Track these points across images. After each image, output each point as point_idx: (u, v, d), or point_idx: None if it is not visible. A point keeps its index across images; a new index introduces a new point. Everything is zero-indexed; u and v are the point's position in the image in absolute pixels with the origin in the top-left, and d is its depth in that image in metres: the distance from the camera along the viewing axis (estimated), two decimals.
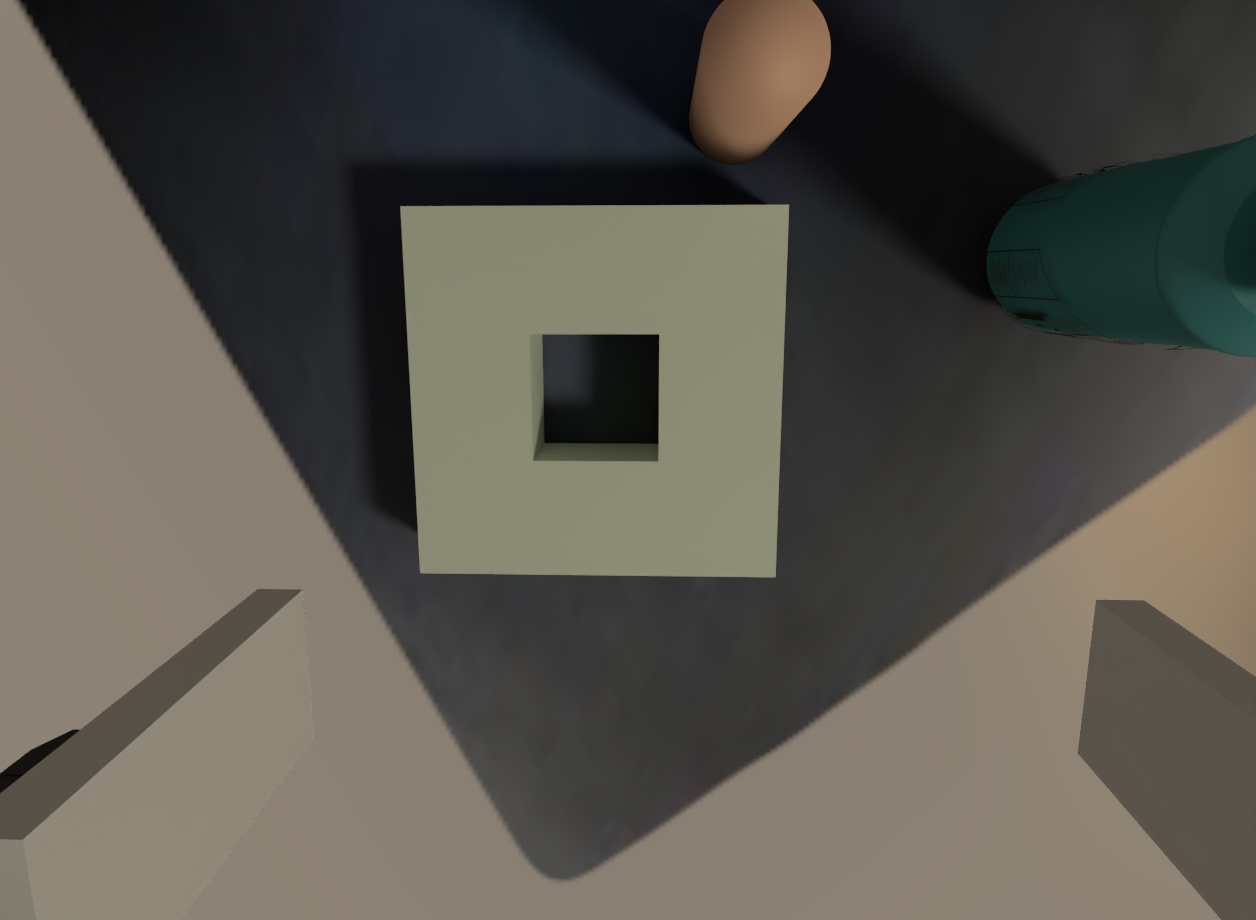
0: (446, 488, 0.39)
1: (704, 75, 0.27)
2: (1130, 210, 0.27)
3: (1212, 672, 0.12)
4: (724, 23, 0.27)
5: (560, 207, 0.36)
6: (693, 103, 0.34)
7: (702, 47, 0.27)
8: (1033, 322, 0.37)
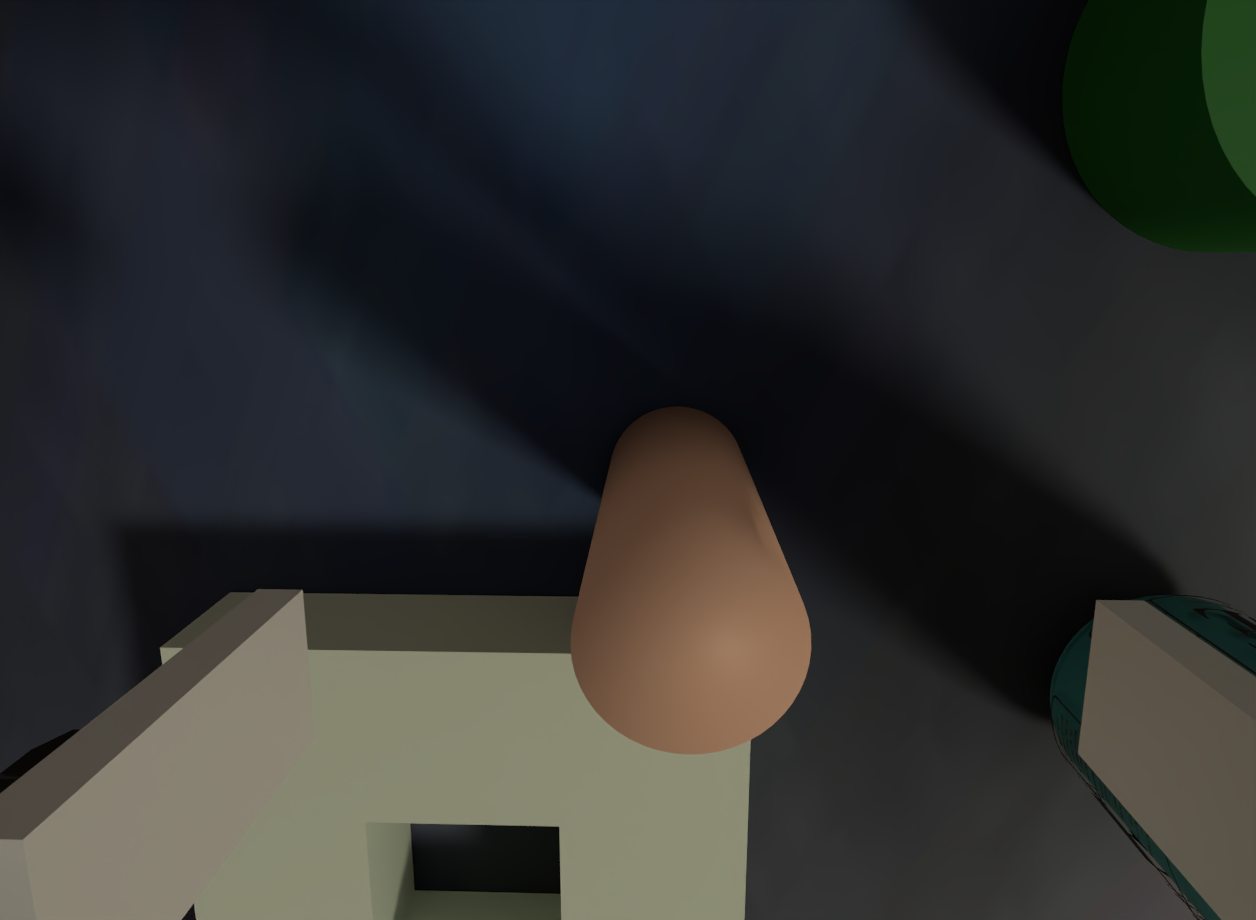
0: None
1: (578, 677, 0.15)
2: None
3: (1212, 672, 0.12)
4: (612, 597, 0.14)
5: (403, 653, 0.24)
6: None
7: (572, 636, 0.15)
8: None
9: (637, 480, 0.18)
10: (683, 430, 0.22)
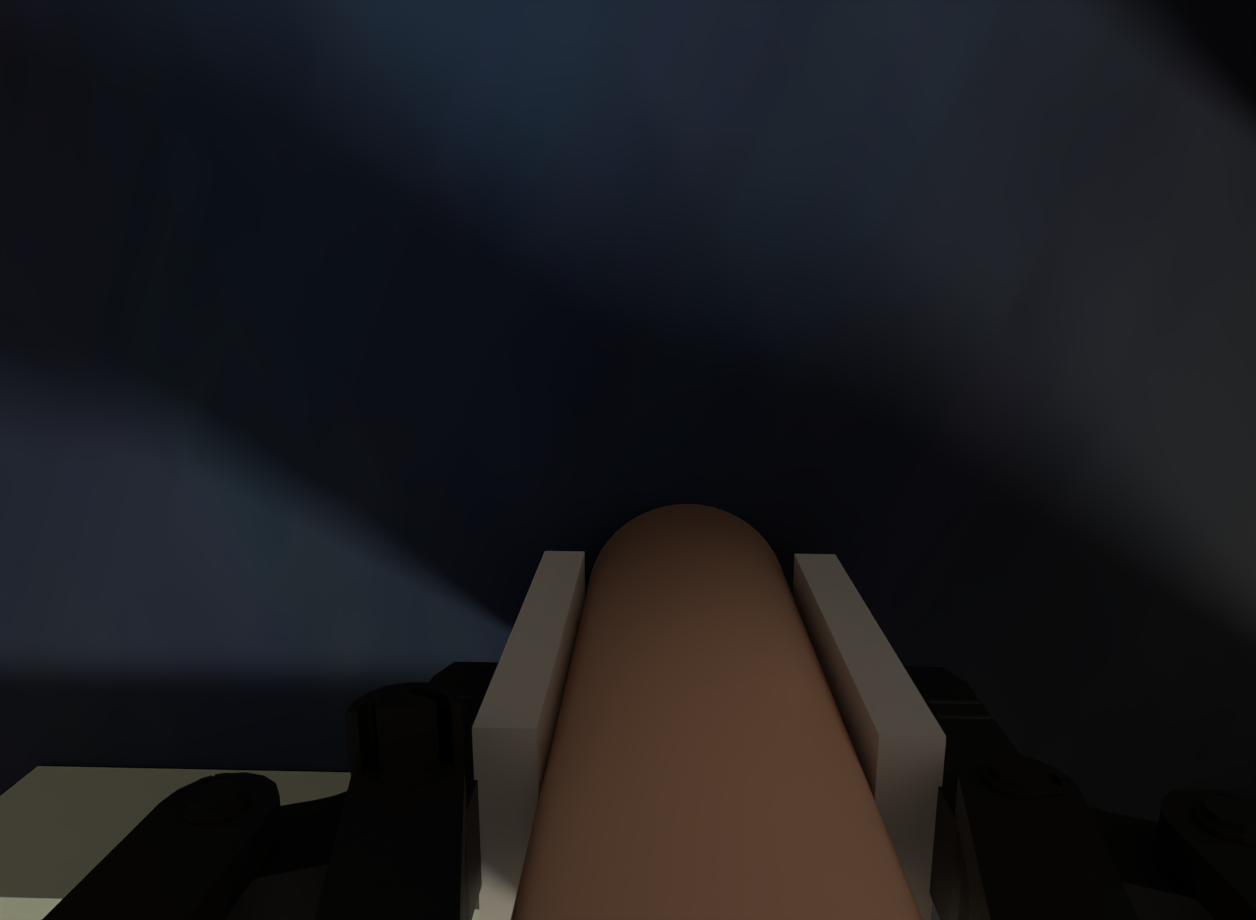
0: None
1: None
2: None
3: (836, 605, 0.14)
4: None
5: None
6: None
7: None
8: None
9: (619, 705, 0.10)
10: (699, 564, 0.14)
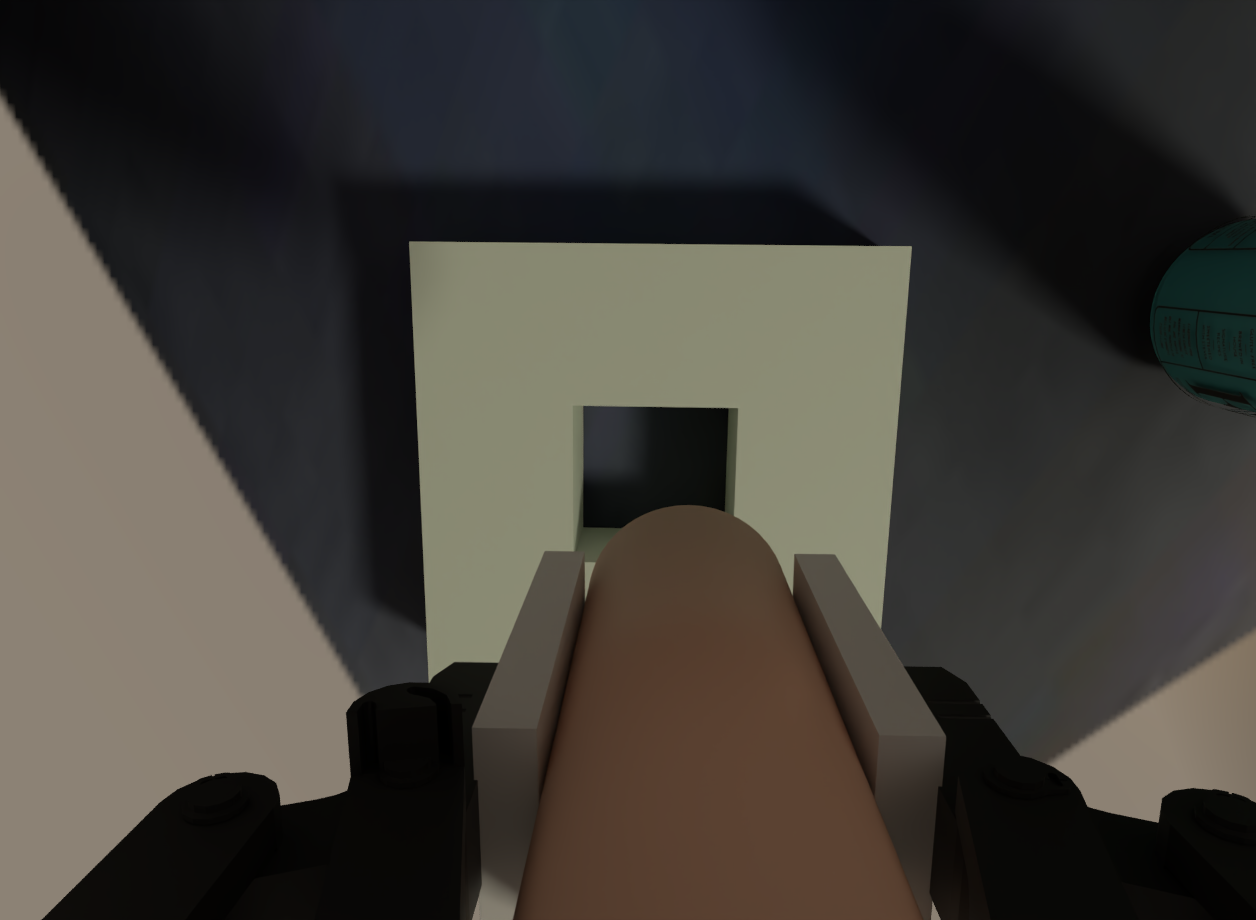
0: (463, 594, 0.31)
1: None
2: None
3: (836, 605, 0.14)
4: None
5: (615, 245, 0.28)
6: None
7: None
8: (1216, 398, 0.29)
9: (620, 707, 0.10)
10: (700, 565, 0.14)
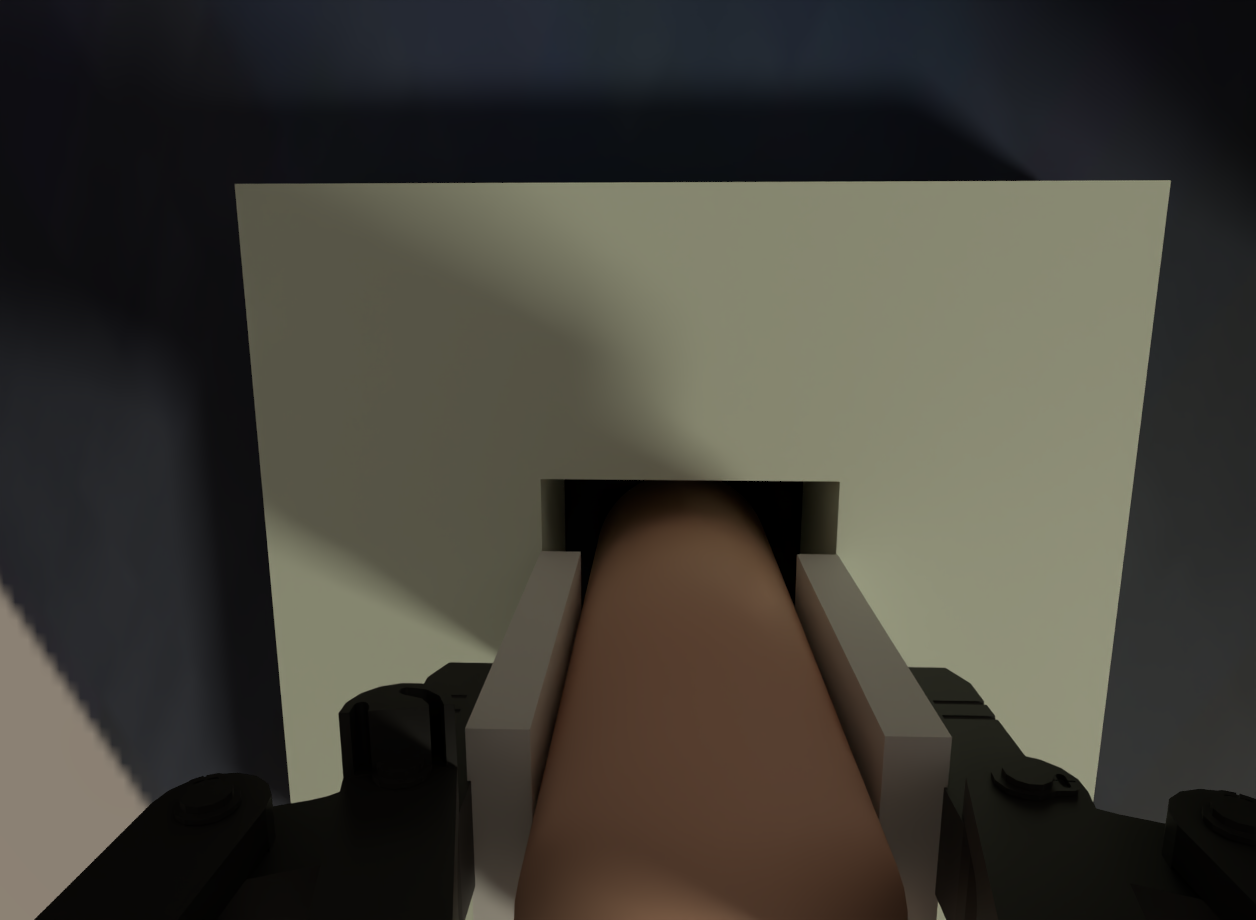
0: None
1: None
2: None
3: (839, 606, 0.14)
4: (581, 852, 0.09)
5: (615, 187, 0.15)
6: None
7: (517, 910, 0.09)
8: None
9: (627, 608, 0.13)
10: (691, 515, 0.17)
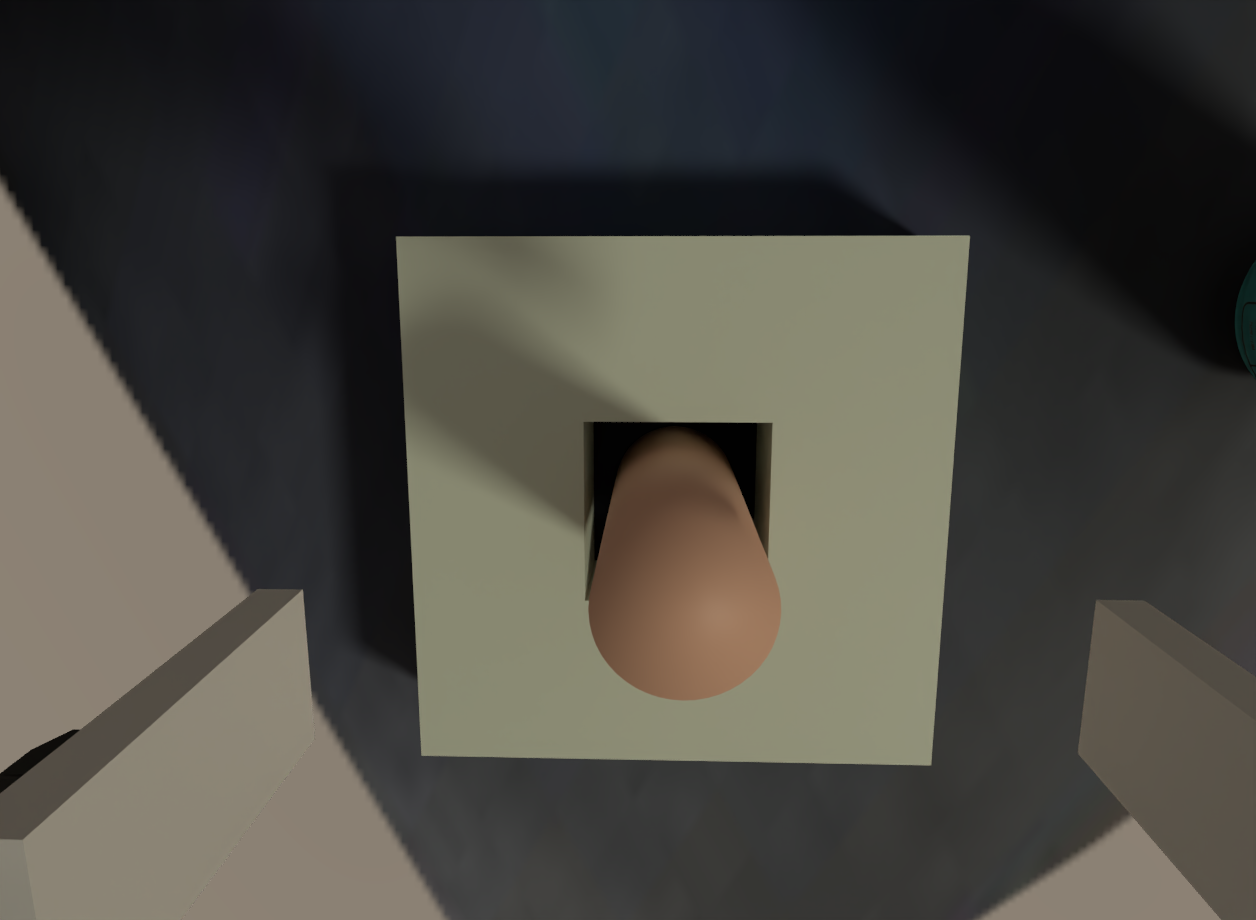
0: (459, 638, 0.27)
1: (594, 636, 0.18)
2: None
3: (1212, 672, 0.12)
4: (621, 571, 0.18)
5: (631, 239, 0.25)
6: None
7: (590, 602, 0.18)
8: None
9: (641, 483, 0.22)
10: (680, 445, 0.26)
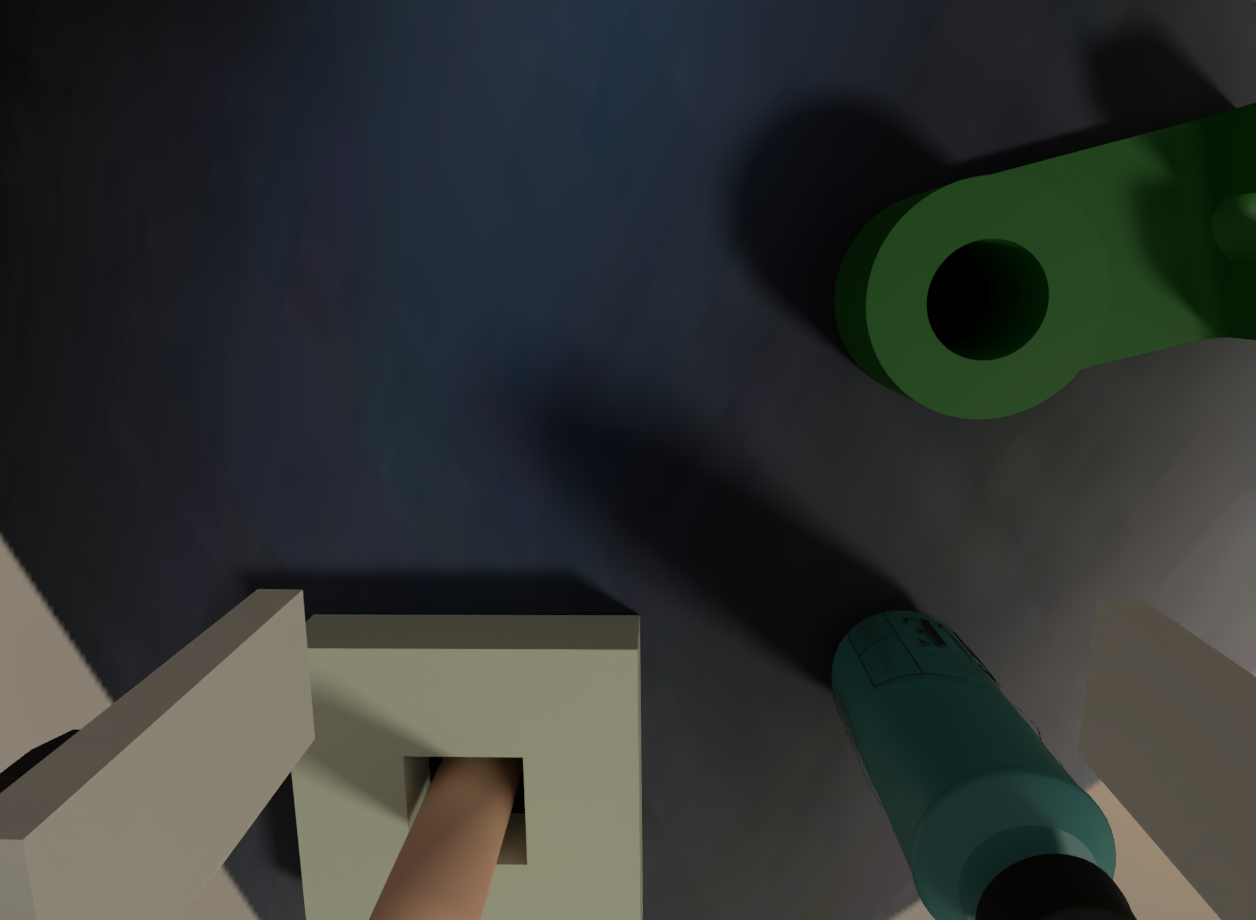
0: (331, 885, 0.42)
1: None
2: (903, 780, 0.30)
3: (1212, 672, 0.12)
4: (383, 918, 0.33)
5: (426, 650, 0.39)
6: None
7: None
8: None
9: (421, 826, 0.37)
10: (467, 767, 0.40)
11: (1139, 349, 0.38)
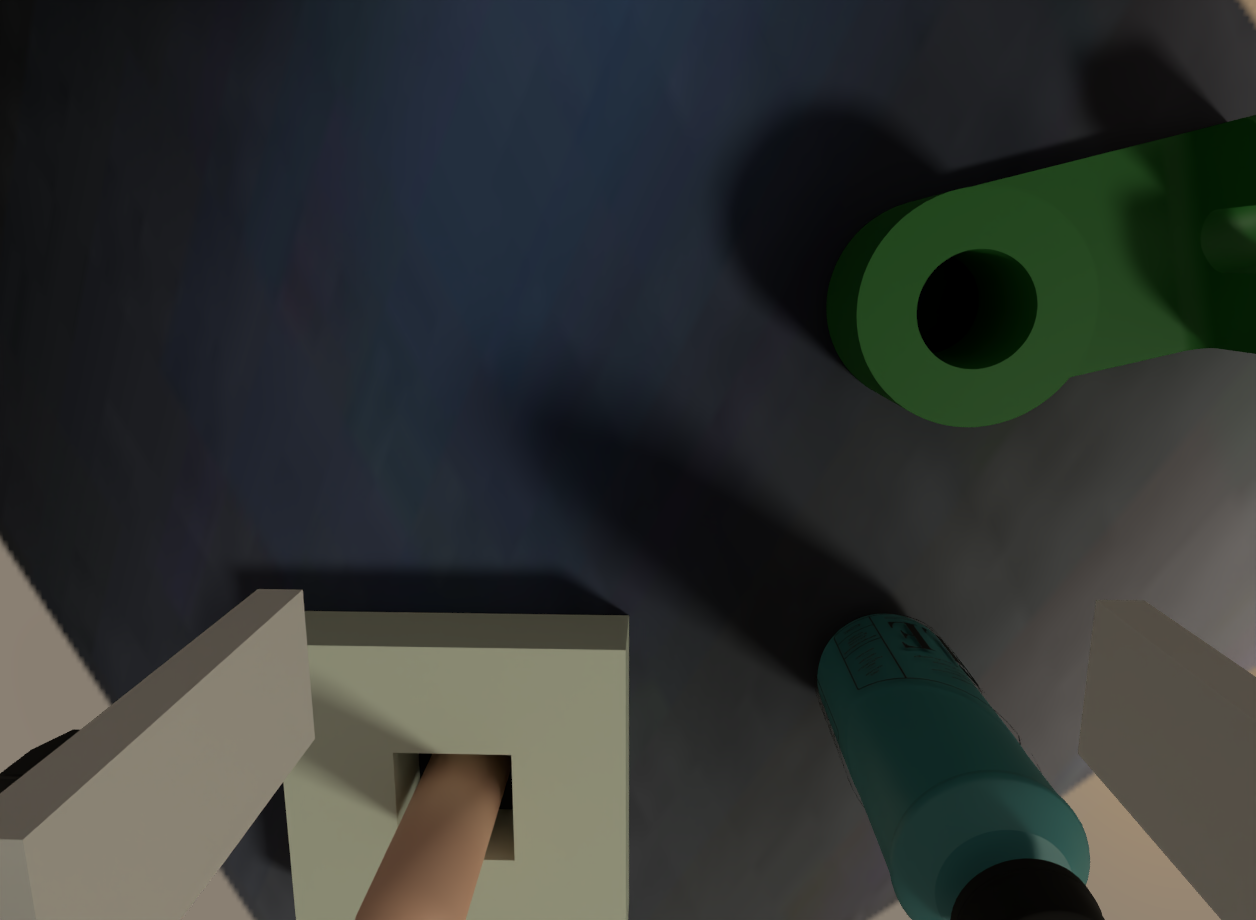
0: (320, 879, 0.42)
1: None
2: (883, 783, 0.30)
3: (1212, 672, 0.12)
4: (370, 913, 0.33)
5: (417, 648, 0.39)
6: None
7: None
8: None
9: (409, 822, 0.37)
10: (456, 763, 0.41)
11: (1127, 358, 0.38)
